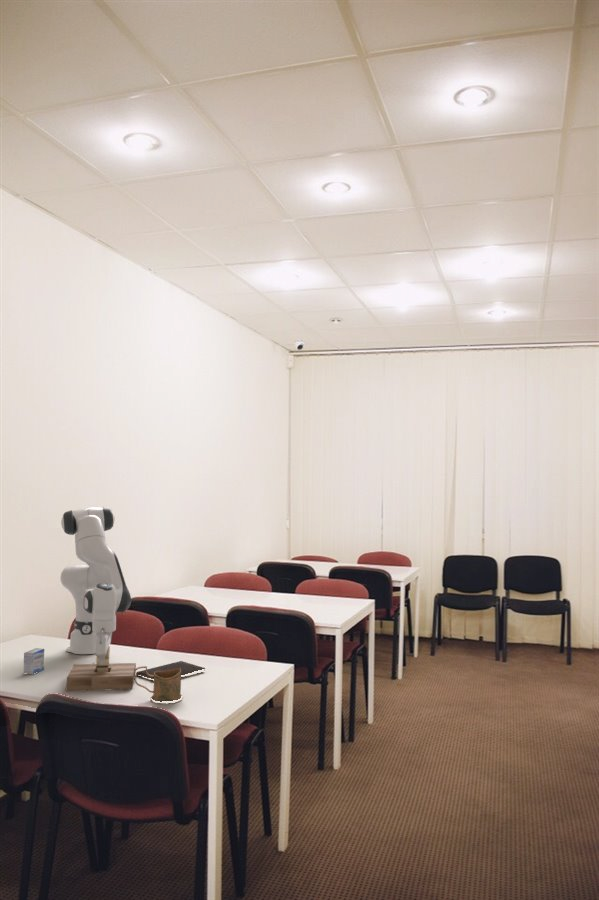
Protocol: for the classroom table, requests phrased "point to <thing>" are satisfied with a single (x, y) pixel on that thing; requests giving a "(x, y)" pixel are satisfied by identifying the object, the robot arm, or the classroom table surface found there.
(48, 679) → the classroom table surface
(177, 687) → the mug
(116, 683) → the board
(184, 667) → the hardcover book
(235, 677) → the classroom table surface
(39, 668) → the medicine box
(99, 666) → the peg
